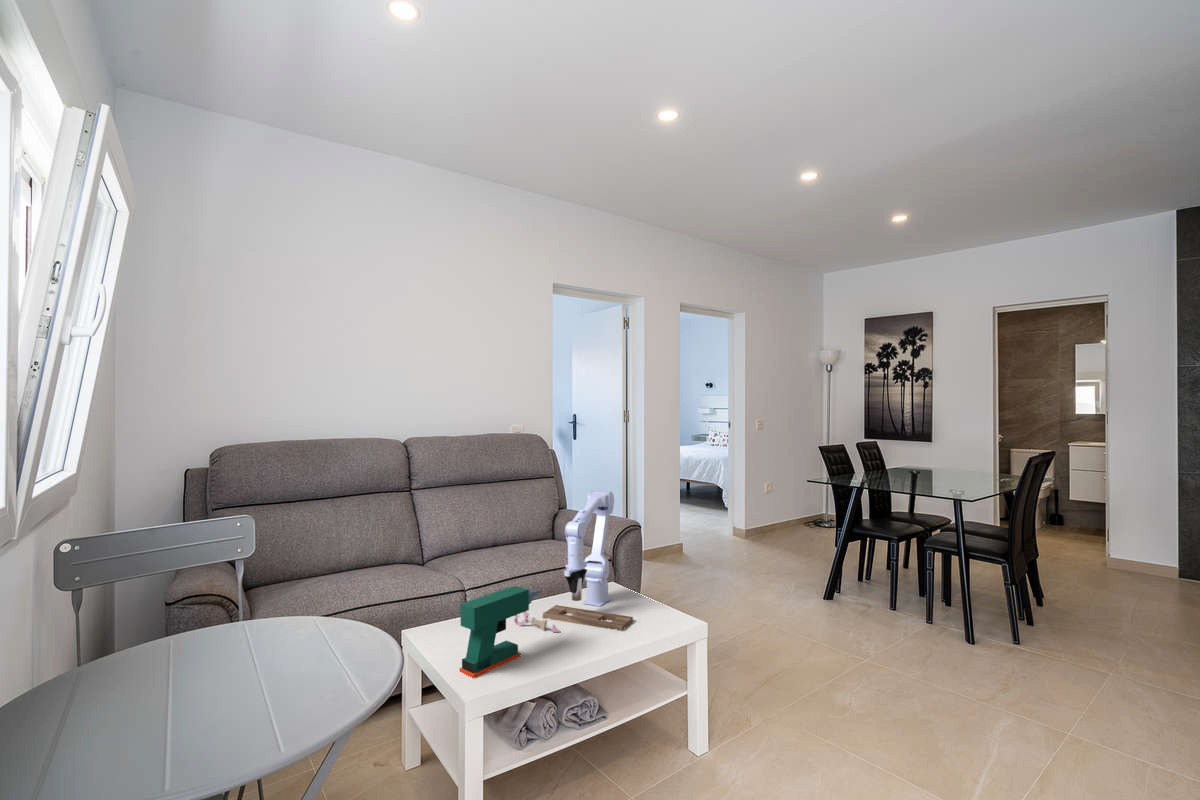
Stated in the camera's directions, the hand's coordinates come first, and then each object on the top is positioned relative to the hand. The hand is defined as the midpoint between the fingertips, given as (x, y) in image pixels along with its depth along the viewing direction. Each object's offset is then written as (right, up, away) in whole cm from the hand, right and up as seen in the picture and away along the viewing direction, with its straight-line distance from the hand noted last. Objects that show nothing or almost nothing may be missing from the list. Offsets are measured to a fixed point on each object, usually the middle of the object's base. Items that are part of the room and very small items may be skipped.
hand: (576, 590), depth 212 cm
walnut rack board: (+4, -10, -2) cm, 11 cm away
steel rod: (0, -3, 0) cm, 3 cm away
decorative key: (-13, -10, -10) cm, 20 cm away
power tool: (-20, -10, -33) cm, 40 cm away
